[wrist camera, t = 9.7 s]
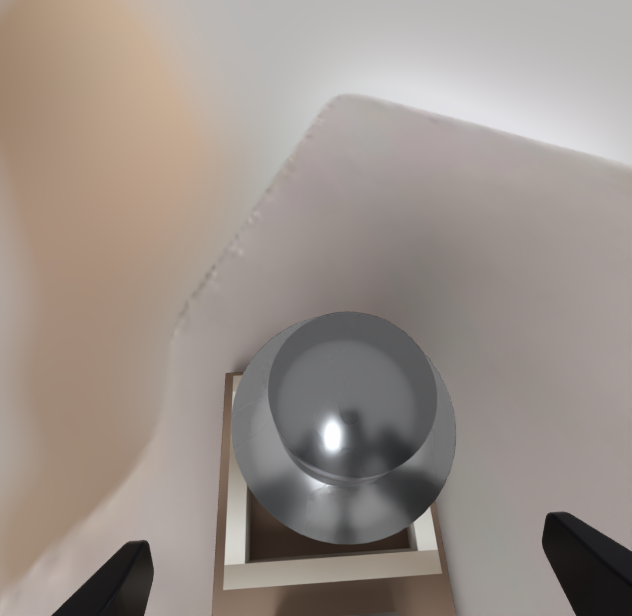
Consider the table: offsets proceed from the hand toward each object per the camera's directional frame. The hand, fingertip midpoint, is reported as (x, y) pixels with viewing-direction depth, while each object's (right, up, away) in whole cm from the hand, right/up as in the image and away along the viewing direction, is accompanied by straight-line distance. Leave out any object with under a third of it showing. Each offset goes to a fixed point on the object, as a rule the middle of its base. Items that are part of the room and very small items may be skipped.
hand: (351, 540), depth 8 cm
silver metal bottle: (0, -3, +10) cm, 10 cm away
